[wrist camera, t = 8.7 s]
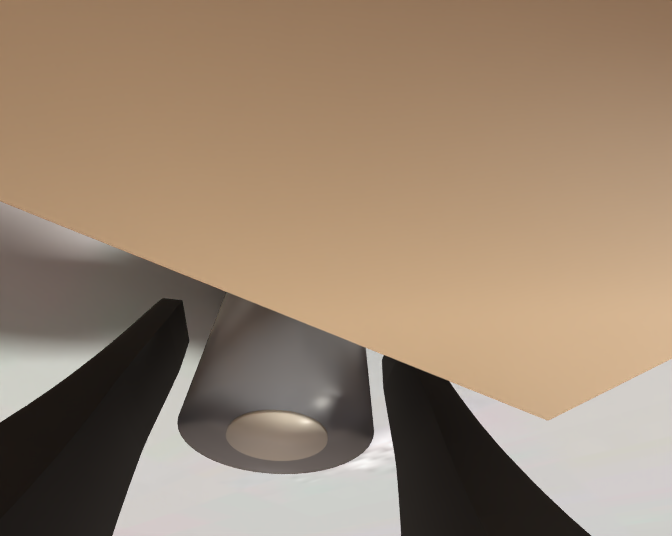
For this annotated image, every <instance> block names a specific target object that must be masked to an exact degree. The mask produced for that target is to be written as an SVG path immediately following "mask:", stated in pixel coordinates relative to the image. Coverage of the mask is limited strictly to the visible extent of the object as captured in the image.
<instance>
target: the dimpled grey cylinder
mask: <svg viewBox="0 0 672 536" xmlns="http://www.w3.org/2000/svg"><path fill="white" fill-rule="evenodd" d="M178 429H179V432H180V434H181V436H182V437H183V439H184V440H185V442H186V443H187V444H188V445H189V446H190V447H192V448H193V449H194V450H196V451H197V452H199V453H200V454H202V455H204V456H205V457H207V458H209V459H212V460H214V461H216V462H219V463H221V464H224V465H227V466H231V467H234V468H238V469H242V470H248V471H253V472H261V473H271V474H298V473H309V472H316V471H321V470H326V469H330V468H333V467H336V466H339V465H342V464H345V463H347V462H349V461H351V460H353V459H354V458H356V457H358V456H359V455H360V454H362V453H363V452H364V451H365V450H366V449H367V448H368V447H369V445H370V443H371V442H372V439H373V435H374V427H373V417H372V407H371V396H370V386H369V376H368V366H367V356H366V347H363V346H361V345H358V344H356V343H353V342H351V341H348V340H346V339H343V338H341V337H338V336H336V335H333V334H331V333H328V332H326V331H323V330H321V329H318V328H316V327H313V326H311V325H308V324H306V323H303V322H301V321H298V320H296V319H293V318H291V317H288V316H286V315H283V314H281V313H278V312H276V311H273V310H271V309H268V308H266V307H263V306H261V305H258V304H256V303H253V302H251V301H248V300H246V299H243V298H241V297H238V296H236V295H233V294H231V293H228V292H226V294H225V297H224V299H223V302H222V305H221V307H220V310H219V312H218V315H217V318H216V320H215V323H214V325H213V328H212V331H211V333H210V336H209V338H208V341H207V344H206V346H205V349H204V351H203V354H202V357H201V359H200V362H199V364H198V367H197V370H196V372H195V375H194V377H193V380H192V383H191V385H190V388H189V390H188V393H187V396H186V398H185V401H184V403H183V406H182V409H181V411H180V414H179V416H178Z"/></svg>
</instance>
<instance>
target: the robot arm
mask: <svg viewBox="0 0 672 536" xmlns="http://www.w3.org/2000/svg"><path fill="white" fill-rule="evenodd" d="M188 343H189V337H188V331H187V325H186V319H185V313H184V307H183V301H182V300H174V299H165V298H163V299H161V300H160V301H159V302H157V303H156V304H155V305H154V306H153V307H152V308H151V309H150V310H148V311H147V312H146V313H145V314H144V315H143V316H142V317H141V318H139V319H138V320H137V321H136V322H135V323H134V324H133V325H131V326H130V327H129V328H128V329H127V330H126V331H125V332H123V333H122V334H121V335H120V336H119V337H117V338H116V339H115V340H114V341H113V342H111V343H110V344H109V345H108V346H107V347H106V348H104V349H103V350H102V351H101V352H99V353H98V354H97V355H96V356H94V357H93V358H92V359H90V360H89V361H88V362H87V363H85V364H84V365H83V366H81V367H80V368H79V369H78V370H76V371H75V372H74V373H72V374H71V375H70V376H68V377H67V378H66V379H64V380H63V381H61V382H60V383H59V384H57V385H56V386H55V387H53V388H52V389H50V390H49V391H47V392H46V393H44V394H43V395H42V396H40V397H39V398H37V399H36V400H34V401H33V402H31V403H30V404H28V405H27V406H25V407H24V408H22V409H21V410H19V411H17V412H16V413H14V414H13V415H11V416H10V417H8V418H6V419H5V420H3V421H2V422H0V536H112V535H113V532H114V529H115V526H116V523H117V520H118V517H119V514H120V511H121V508H122V505H123V502H124V499H125V497H126V494H127V491H128V488H129V485H130V482H131V480H132V477H133V474H134V471H135V469H136V466H137V463H138V461H139V458H140V455H141V452H142V450H143V448H144V445H145V443H146V441H147V438H148V436H149V434H150V432H151V430H152V428H153V426H154V424H155V421H156V419H157V417H158V415H159V413H160V411H161V409H162V407H163V405H164V403H165V400H166V398H167V396H168V394H169V392H170V390H171V388H172V386H173V383H174V381H175V379H176V377H177V375H178V373H179V370H180V368H181V365H182V362H183V359H184V356H185V353H186V350H187V347H188ZM382 372H383V389H384V395H385V401H386V407H387V413H388V419H389V424H390V430H391V436H392V442H393V447H394V453H395V461H396V468H397V480H398V493H399V507H400V522H401V536H591V535H590V534H589V533H587V532H586V531H585V530H584V529H583V528H582V527H581V526H579V525H578V524H577V523H576V522H575V521H574V520H573V519H571V518H570V517H569V516H568V515H567V514H566V513H565V512H564V511H563V510H562V509H561V508H560V507H559V506H558V505H557V504H555V503H554V502H553V501H552V500H551V499H550V498H549V497H548V496H547V495H546V494H545V493H544V492H543V491H542V490H541V489H540V488H539V487H538V486H537V485H536V484H535V483H534V482H533V481H532V480H531V479H530V478H529V477H528V476H527V475H526V474H525V473H524V472H523V471H522V470H521V469H520V468H519V467H518V466H517V464H516V463H515V462H514V461H513V460H512V459H511V458H510V457H509V456H508V455H507V454H506V453H505V452H504V451H503V450H502V448H501V447H500V446H499V445H498V444H497V443H496V442H495V440H494V439H493V438H492V437H491V436H490V435H489V433H488V432H487V431H486V430H485V429H484V427H483V426H482V425H481V424H480V422H479V421H478V420H477V419H476V417H475V416H474V415H473V414H472V412H471V411H470V410H469V408H468V407H467V406H466V404H465V403H464V402H463V400H462V399H461V398H460V396H459V395H458V393H457V392H456V391H455V389H454V388H453V386H452V385H451V383H450V382H449V381H448V380H445V379H443V378H440V377H438V376H435V375H433V374H430V373H428V372H426V371H423V370H421V369H418V368H416V367H413V366H411V365H408V364H406V363H403V362H401V361H398V360H396V359H393V358H391V357H388V356H386V355H384V357H383V359H382Z"/></svg>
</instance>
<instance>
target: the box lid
mask: <svg viewBox="0 0 672 536" xmlns="http://www.w3.org/2000/svg"><path fill="white" fill-rule="evenodd" d="M0 201H1V202H3V203H6V204H8V205H11V206H13V207H16V208H18V209H21V210H23V211H26V212H28V213H31V214H33V215H36V216H38V217H41V218H43V219H46V220H48V221H51V222H53V223H56V224H58V225H61V226H63V227H66V228H68V229H71V230H73V231H76V232H78V233H81V234H83V235H86V236H88V237H91V238H93V239H96V240H98V241H101V242H103V243H106V244H108V245H111V246H113V247H116V248H118V249H121V250H123V251H126V252H128V253H131V254H133V255H136V256H138V257H141V258H143V259H146V260H148V261H151V262H153V263H156V264H158V265H161V266H163V267H166V268H168V269H171V270H173V271H176V272H178V273H181V274H183V275H186V276H188V277H191V278H193V279H196V280H198V281H201V282H203V283H206V284H208V285H211V286H213V287H216V288H218V289H221V290H223V291H226V292H228V293H231V294H233V295H236V296H238V297H241V298H243V299H246V300H248V301H251V302H253V303H256V304H258V305H261V306H263V307H266V308H268V309H271V310H273V311H276V312H278V313H281V314H283V315H286V316H288V317H291V318H293V319H296V320H298V321H301V322H303V323H306V324H308V325H311V326H313V327H316V328H318V329H321V330H323V331H326V332H328V333H331V334H333V335H336V336H338V337H341V338H343V339H346V340H348V341H351V342H353V343H356V344H358V345H361V346H363V347H366V348H368V349H371V350H373V351H376V352H378V353H381V354H383V355H386V356H388V357H391V358H393V359H396V360H398V361H401V362H403V363H406V364H408V365H411V366H413V367H416V368H418V369H421V370H423V371H426V372H428V373H430V374H433V375H435V376H438V377H440V378H443V379H445V380H448V381H450V382H453V383H455V384H458V385H460V386H463V387H465V388H468V389H470V390H473V391H475V392H478V393H480V394H483V395H485V396H488V397H490V398H493V399H495V400H498V401H500V402H503V403H505V404H508V405H510V406H513V407H515V408H518V409H520V410H523V411H525V412H528V413H530V414H533V415H535V416H538V417H540V418H543V419H545V420H550V419H552V418H554V417H556V416H558V415H560V414H562V413H564V412H566V411H568V410H570V409H572V408H574V407H576V406H578V405H580V404H582V403H584V402H586V401H588V400H590V399H592V398H594V397H596V396H598V395H600V394H602V393H604V392H606V391H608V390H610V389H612V388H614V387H616V386H618V385H620V384H622V383H624V382H626V381H628V380H630V379H632V378H634V377H636V376H638V375H640V374H642V373H644V372H646V371H648V370H650V369H652V368H654V367H656V366H658V365H660V364H662V363H664V362H666V361H668V360H670V359H672V0H0Z"/></svg>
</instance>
